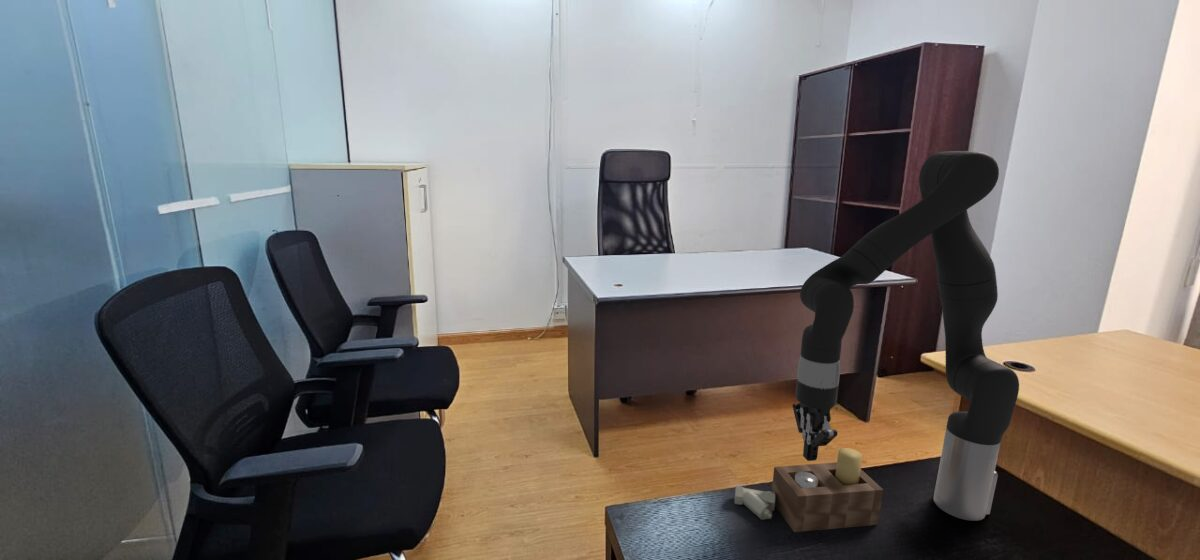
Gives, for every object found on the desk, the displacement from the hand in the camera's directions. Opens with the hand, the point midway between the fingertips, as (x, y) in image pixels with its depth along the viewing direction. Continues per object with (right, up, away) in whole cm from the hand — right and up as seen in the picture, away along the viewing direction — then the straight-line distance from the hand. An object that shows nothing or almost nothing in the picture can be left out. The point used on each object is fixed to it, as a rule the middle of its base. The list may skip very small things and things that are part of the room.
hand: (809, 458), depth 105 cm
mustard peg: (+9, -7, +3) cm, 12 cm away
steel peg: (0, -12, +3) cm, 13 cm away
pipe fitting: (-10, -12, +4) cm, 17 cm away
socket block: (+4, -12, +3) cm, 13 cm away
